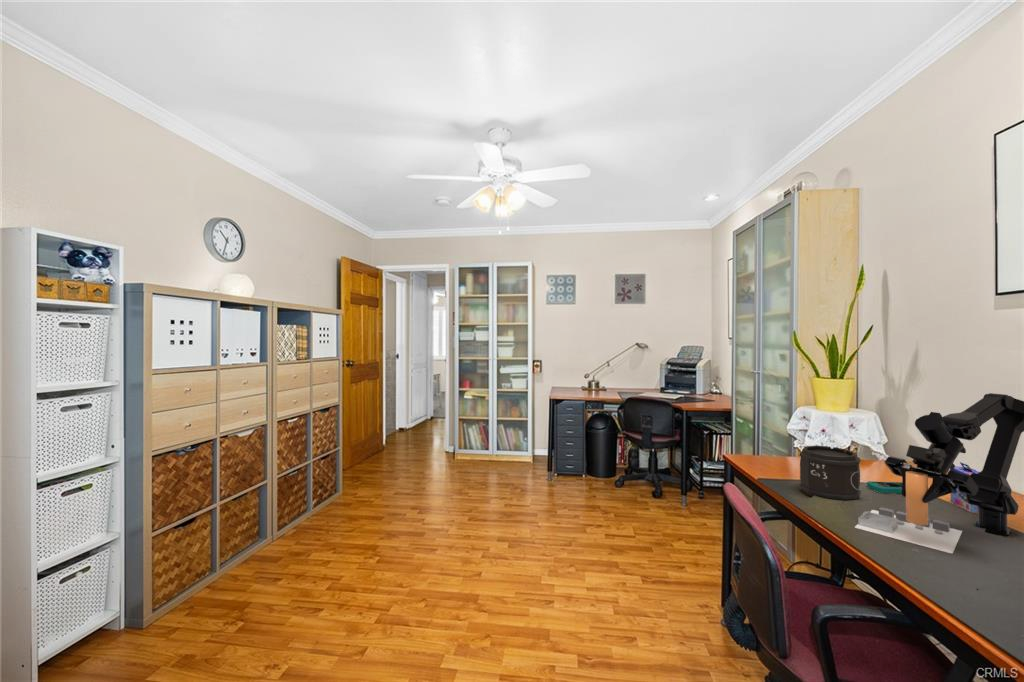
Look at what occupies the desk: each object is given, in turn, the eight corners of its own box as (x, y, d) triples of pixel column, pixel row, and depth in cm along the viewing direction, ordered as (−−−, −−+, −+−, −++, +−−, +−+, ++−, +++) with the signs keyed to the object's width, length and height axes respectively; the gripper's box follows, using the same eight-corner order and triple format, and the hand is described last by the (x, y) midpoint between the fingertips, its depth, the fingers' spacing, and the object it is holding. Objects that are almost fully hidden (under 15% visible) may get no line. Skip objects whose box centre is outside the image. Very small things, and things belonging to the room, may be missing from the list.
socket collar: (865, 517, 132) (865, 511, 132) (898, 525, 126) (898, 518, 126) (858, 524, 128) (858, 517, 128) (892, 533, 122) (892, 526, 122)
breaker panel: (872, 513, 138) (872, 503, 138) (962, 535, 123) (962, 523, 123) (854, 531, 126) (854, 520, 126) (952, 558, 110) (952, 545, 110)
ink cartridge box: (948, 501, 148) (948, 459, 147) (969, 503, 146) (968, 460, 146) (970, 513, 138) (970, 467, 138) (992, 514, 137) (992, 468, 136)
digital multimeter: (864, 487, 163) (864, 480, 163) (909, 489, 161) (908, 481, 161) (878, 494, 156) (878, 486, 156) (925, 496, 154) (925, 488, 154)
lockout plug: (907, 517, 121) (907, 470, 120) (929, 522, 117) (929, 474, 117) (904, 521, 118) (904, 473, 118) (926, 526, 114) (926, 477, 114)
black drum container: (853, 489, 160) (852, 447, 159) (869, 507, 143) (868, 459, 143) (795, 483, 167) (794, 442, 167) (803, 499, 151) (803, 454, 151)
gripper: (888, 428, 127) (861, 469, 124) (970, 443, 109) (940, 491, 106) (907, 453, 130) (881, 494, 127) (991, 471, 112) (962, 519, 109)
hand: (913, 498), depth 117 cm, fingers closed on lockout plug, 4 cm apart
